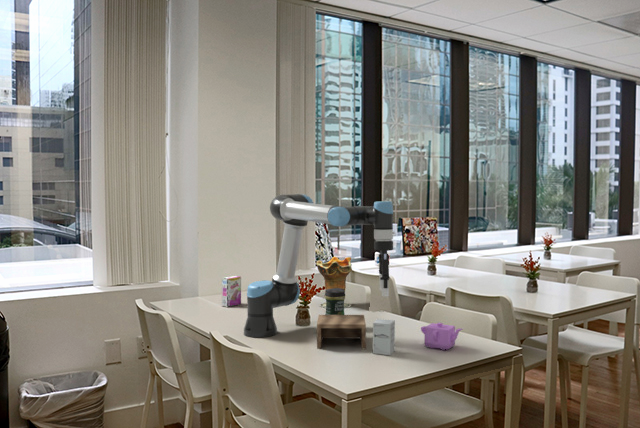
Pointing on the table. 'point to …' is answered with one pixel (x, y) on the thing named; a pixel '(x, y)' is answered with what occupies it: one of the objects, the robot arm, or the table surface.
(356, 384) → the table surface
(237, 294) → the candy bar box
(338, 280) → the decorative vase
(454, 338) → the teapot
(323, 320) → the walnut shelf
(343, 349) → the table surface
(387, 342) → the supplement box
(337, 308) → the coffee jar
